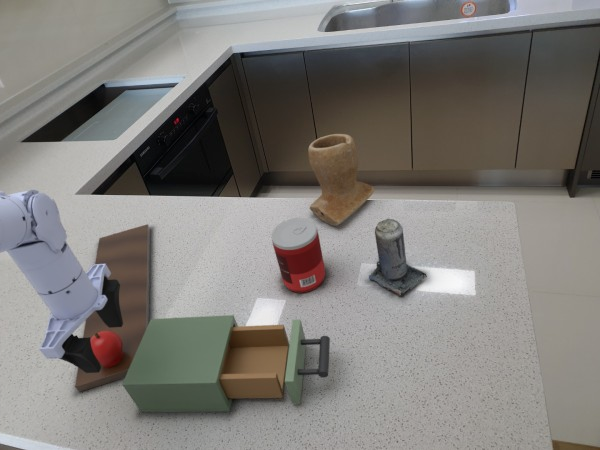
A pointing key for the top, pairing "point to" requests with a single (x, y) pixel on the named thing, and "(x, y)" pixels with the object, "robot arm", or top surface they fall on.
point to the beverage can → (393, 259)
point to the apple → (107, 348)
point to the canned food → (299, 254)
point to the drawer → (269, 361)
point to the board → (122, 300)
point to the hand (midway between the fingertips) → (105, 347)
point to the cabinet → (181, 365)
